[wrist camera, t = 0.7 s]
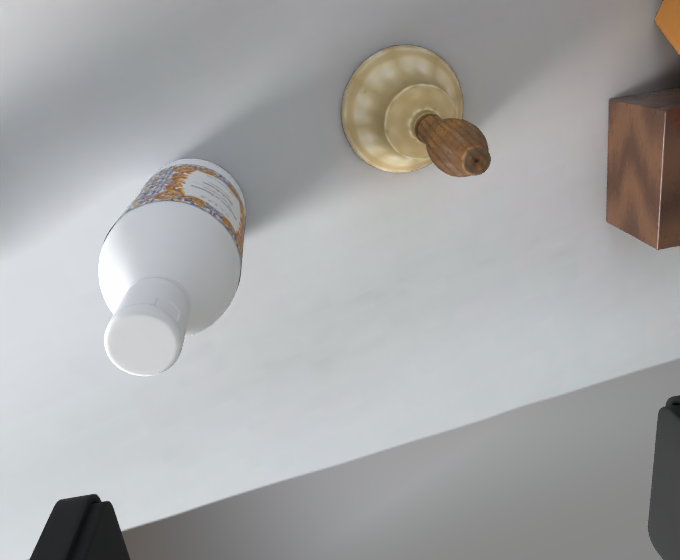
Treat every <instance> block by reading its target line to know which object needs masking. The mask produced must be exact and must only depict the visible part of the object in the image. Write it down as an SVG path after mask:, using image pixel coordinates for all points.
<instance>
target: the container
mask: <svg viewBox="0 0 680 560" xmlns="http://www.w3.org/2000/svg"><path fill="white" fill-rule="evenodd" d="M654 22H655V23H656V24H657V26H658V27H659V28H660V30H661V31H662V32H663V34H664V35H665V36H666V38H667V39H668V40H669V42H670V43H671V44H672V46H673V47H674V48H675V50H676V51H677V52H678V54H679V55H680V0H663V1H662V4H661V6H660V8H659V11H658V13H657V15H656V17H655V20H654Z"/></svg>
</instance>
